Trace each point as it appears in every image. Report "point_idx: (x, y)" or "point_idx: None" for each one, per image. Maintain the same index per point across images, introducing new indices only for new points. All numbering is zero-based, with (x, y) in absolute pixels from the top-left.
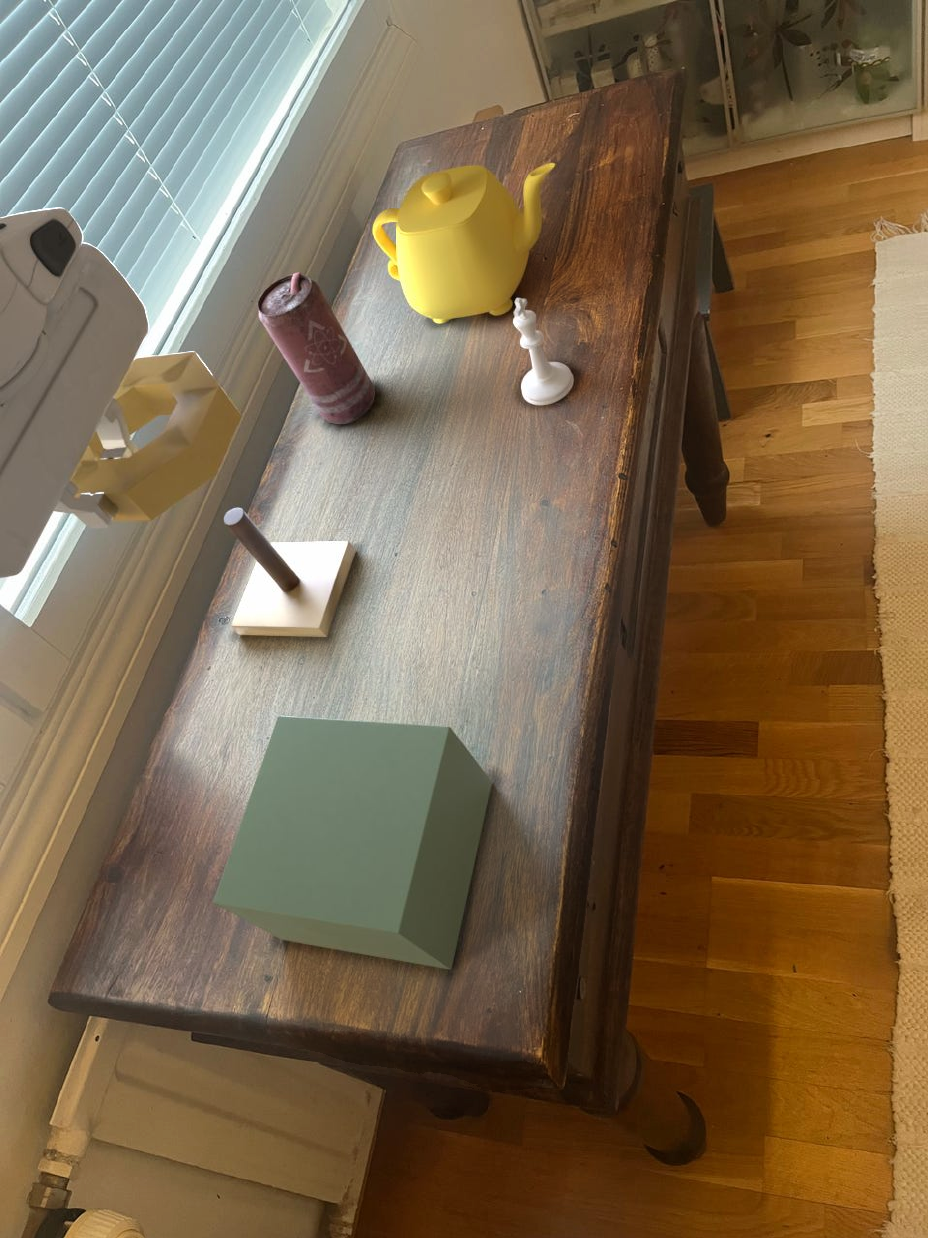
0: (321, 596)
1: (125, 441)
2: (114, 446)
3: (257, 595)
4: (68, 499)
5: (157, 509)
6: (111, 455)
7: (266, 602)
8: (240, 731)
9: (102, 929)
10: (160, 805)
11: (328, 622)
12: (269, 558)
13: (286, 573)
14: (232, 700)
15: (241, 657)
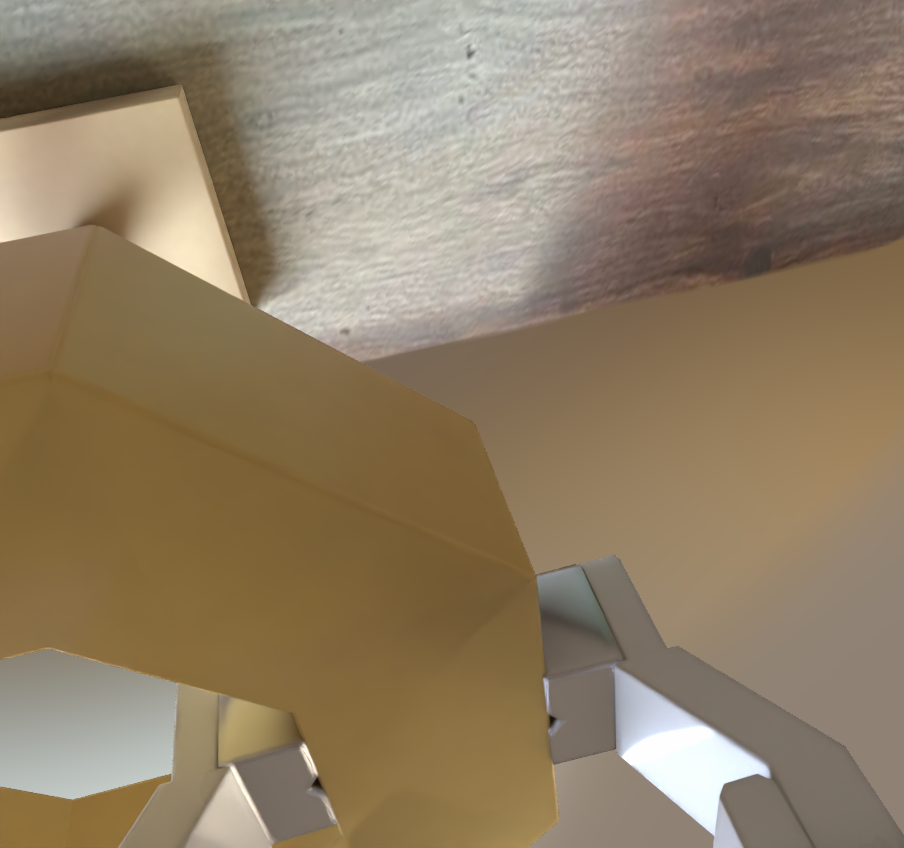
0: (91, 139)
1: (205, 790)
2: (250, 815)
3: None
4: (831, 788)
5: (436, 416)
6: (305, 791)
7: None
8: (460, 176)
9: (847, 226)
10: (631, 256)
11: (145, 93)
12: None
13: None
14: (399, 237)
15: (300, 275)
